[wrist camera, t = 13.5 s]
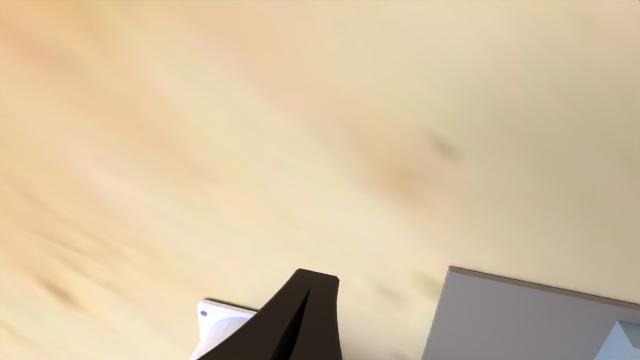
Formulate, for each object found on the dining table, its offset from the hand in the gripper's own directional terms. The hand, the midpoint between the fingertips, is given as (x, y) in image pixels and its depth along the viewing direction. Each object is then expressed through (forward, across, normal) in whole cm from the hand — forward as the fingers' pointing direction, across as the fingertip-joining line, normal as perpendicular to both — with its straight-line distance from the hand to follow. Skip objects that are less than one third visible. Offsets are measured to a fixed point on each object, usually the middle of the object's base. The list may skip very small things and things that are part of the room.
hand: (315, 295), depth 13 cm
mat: (+10, -14, +10) cm, 20 cm away
